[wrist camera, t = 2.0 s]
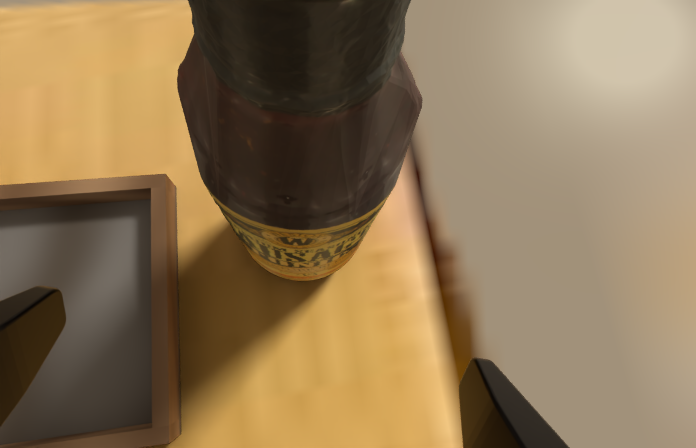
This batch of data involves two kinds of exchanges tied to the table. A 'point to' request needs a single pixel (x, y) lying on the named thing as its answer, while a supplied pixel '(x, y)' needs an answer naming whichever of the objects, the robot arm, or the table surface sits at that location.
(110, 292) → the walnut frame
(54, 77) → the table surface
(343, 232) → the sauce bottle
